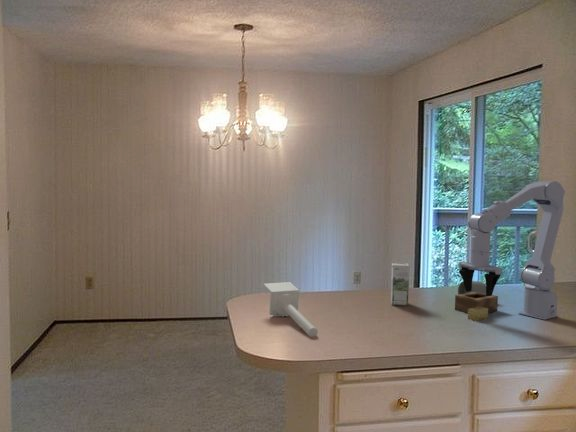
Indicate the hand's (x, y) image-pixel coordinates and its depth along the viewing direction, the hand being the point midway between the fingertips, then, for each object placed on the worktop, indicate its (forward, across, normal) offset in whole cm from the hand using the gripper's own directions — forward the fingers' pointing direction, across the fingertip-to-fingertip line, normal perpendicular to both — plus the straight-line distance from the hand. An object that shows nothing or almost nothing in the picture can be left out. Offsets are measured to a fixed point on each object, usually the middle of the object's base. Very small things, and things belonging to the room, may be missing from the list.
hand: (478, 293), depth 176 cm
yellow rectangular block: (+8, 0, 0) cm, 8 cm away
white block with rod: (+9, -29, -52) cm, 60 cm away
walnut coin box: (+8, -7, +9) cm, 14 cm away
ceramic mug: (+8, -18, +20) cm, 28 cm away
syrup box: (+8, -28, -6) cm, 30 cm away
